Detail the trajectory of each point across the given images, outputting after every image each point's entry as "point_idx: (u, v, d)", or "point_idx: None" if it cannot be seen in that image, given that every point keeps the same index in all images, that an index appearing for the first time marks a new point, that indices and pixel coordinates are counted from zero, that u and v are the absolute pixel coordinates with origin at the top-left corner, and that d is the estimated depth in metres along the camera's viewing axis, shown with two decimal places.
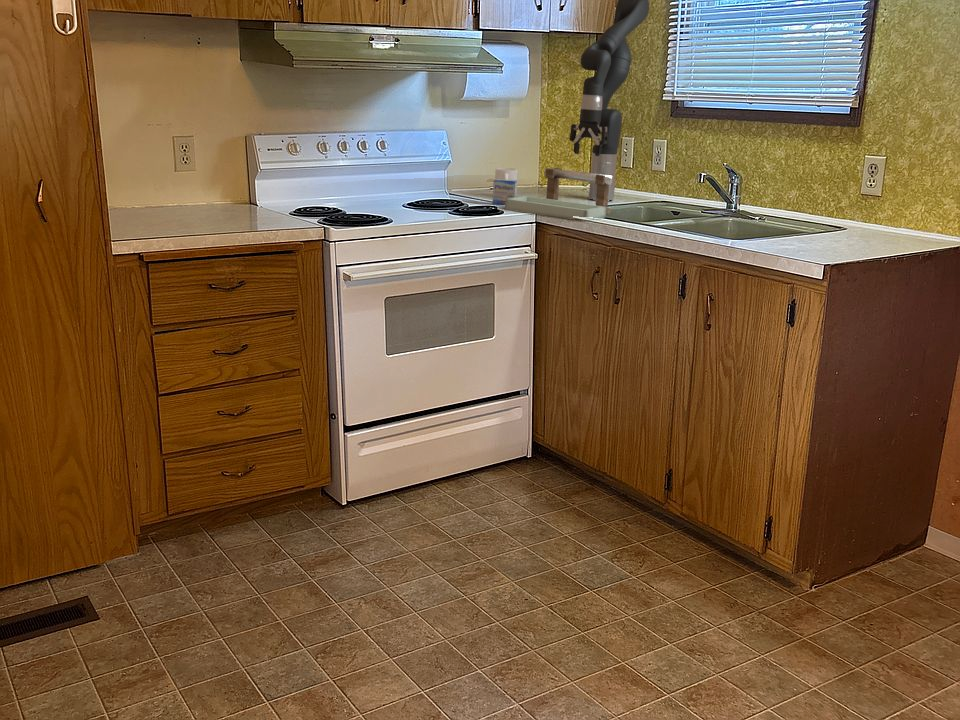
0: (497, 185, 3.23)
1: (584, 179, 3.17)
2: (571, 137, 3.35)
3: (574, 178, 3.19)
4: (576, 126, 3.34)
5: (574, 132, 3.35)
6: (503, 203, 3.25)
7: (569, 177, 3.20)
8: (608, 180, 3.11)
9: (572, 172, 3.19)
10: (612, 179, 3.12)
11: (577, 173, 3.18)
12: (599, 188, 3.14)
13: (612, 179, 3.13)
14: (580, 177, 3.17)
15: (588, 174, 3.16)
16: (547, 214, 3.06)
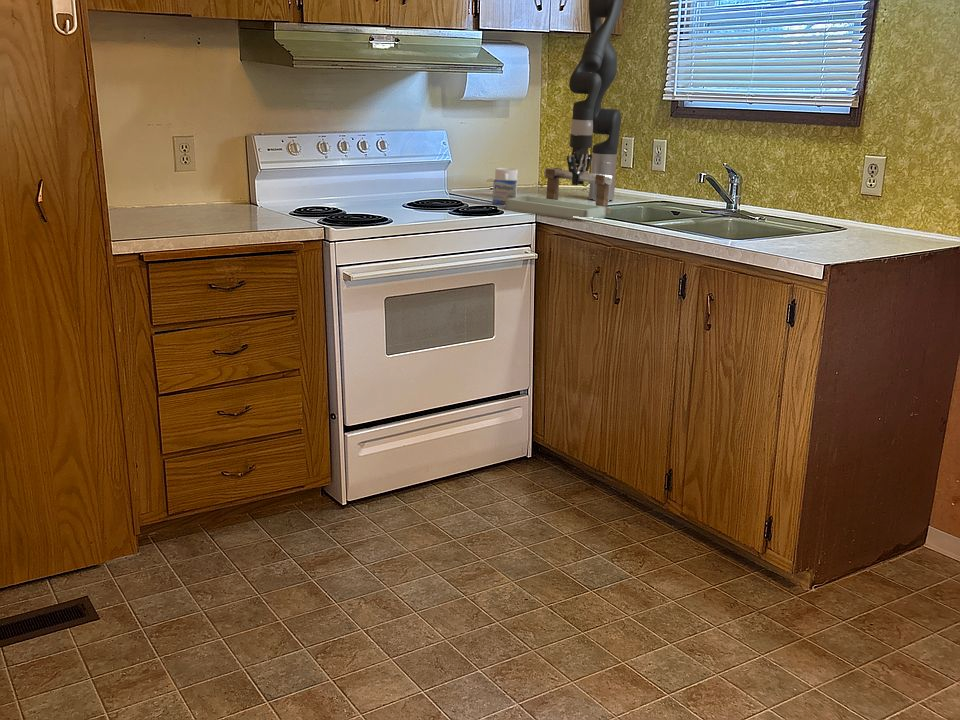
0: (497, 185, 3.23)
1: (584, 179, 3.17)
2: (576, 169, 3.15)
3: None
4: (573, 156, 3.13)
5: None
6: (503, 203, 3.25)
7: (569, 177, 3.20)
8: (608, 180, 3.11)
9: None
10: (612, 179, 3.12)
11: None
12: (599, 188, 3.14)
13: (612, 179, 3.13)
14: (580, 177, 3.17)
15: (588, 174, 3.16)
16: (547, 214, 3.06)
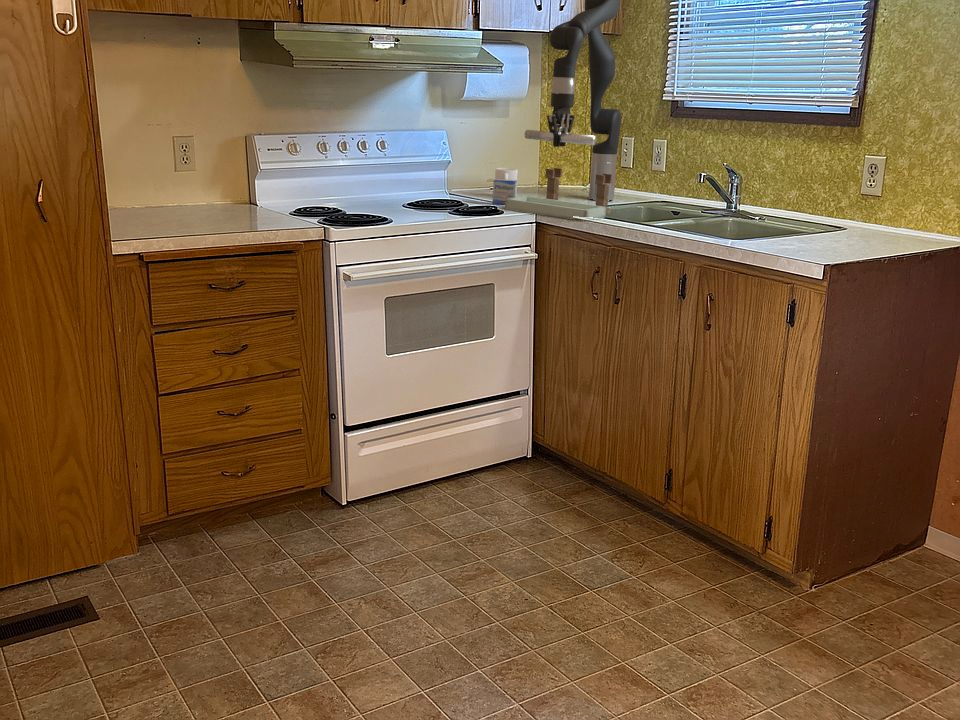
0: (497, 185, 3.23)
1: (566, 140, 3.02)
2: (557, 129, 3.00)
3: None
4: (554, 116, 2.98)
5: None
6: (503, 203, 3.25)
7: (550, 138, 3.05)
8: (591, 140, 2.96)
9: None
10: (595, 139, 2.98)
11: None
12: (599, 188, 3.14)
13: (595, 140, 2.98)
14: (562, 138, 3.02)
15: (570, 135, 3.01)
16: (547, 214, 3.06)
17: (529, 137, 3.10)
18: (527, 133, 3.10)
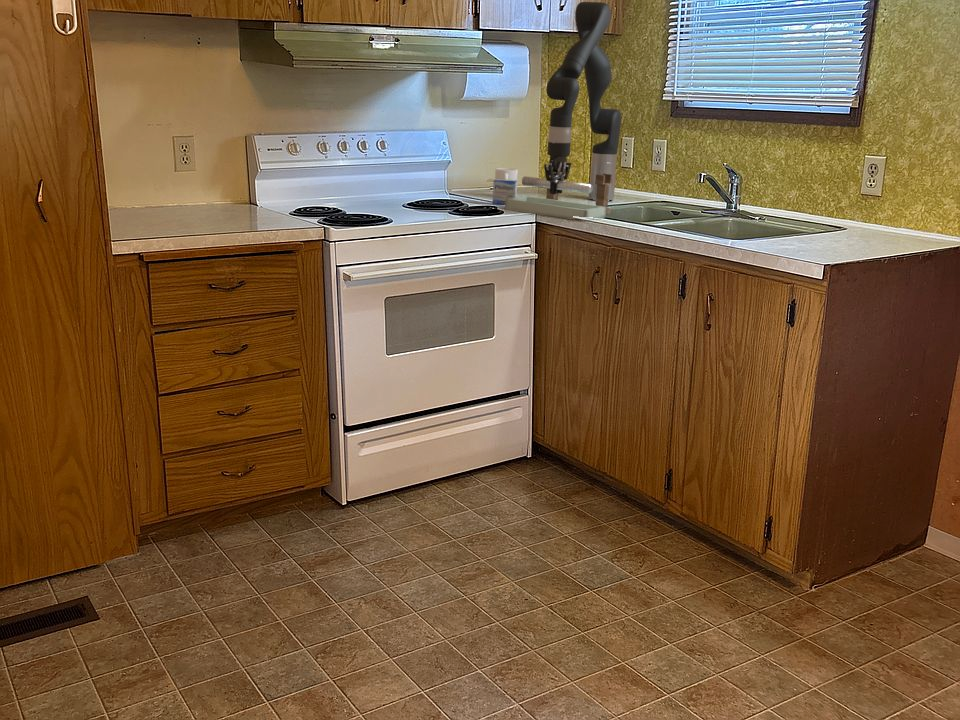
0: (497, 185, 3.23)
1: (562, 188, 3.07)
2: (553, 177, 3.05)
3: None
4: (551, 165, 3.03)
5: None
6: (503, 203, 3.25)
7: (547, 186, 3.10)
8: (587, 189, 3.01)
9: None
10: (591, 188, 3.02)
11: None
12: (599, 188, 3.14)
13: (591, 188, 3.03)
14: (558, 186, 3.07)
15: (566, 183, 3.05)
16: (547, 214, 3.06)
17: (526, 184, 3.15)
18: (524, 180, 3.14)
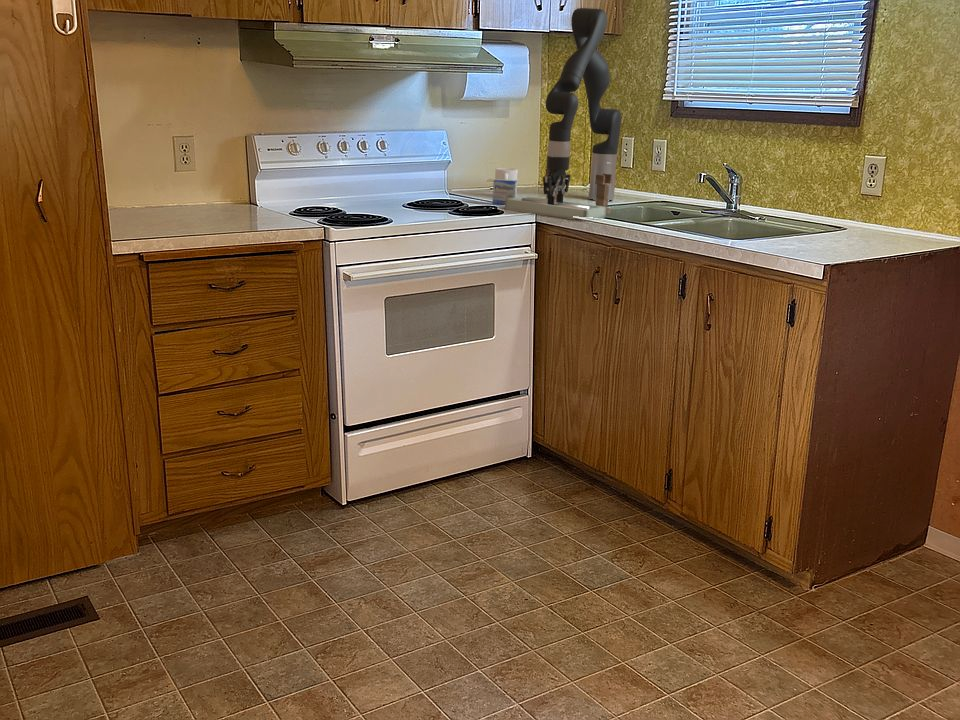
0: (497, 185, 3.23)
1: None
2: (551, 190, 3.05)
3: None
4: None
5: None
6: (503, 203, 3.25)
7: None
8: None
9: None
10: None
11: (554, 203, 3.10)
12: (599, 188, 3.14)
13: None
14: None
15: (565, 205, 3.08)
16: (547, 214, 3.06)
17: None
18: None
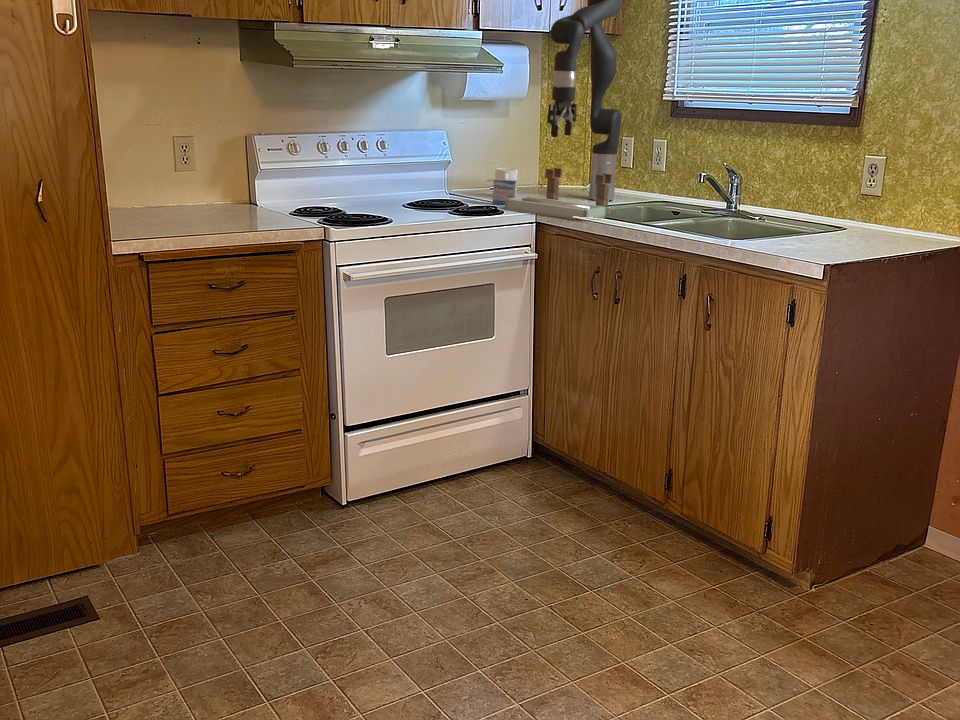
0: (497, 185, 3.23)
1: None
2: (555, 119, 3.01)
3: None
4: None
5: None
6: (503, 203, 3.25)
7: None
8: None
9: (549, 202, 3.12)
10: None
11: (554, 203, 3.10)
12: (599, 188, 3.14)
13: None
14: None
15: (565, 204, 3.08)
16: (547, 214, 3.06)
17: None
18: None
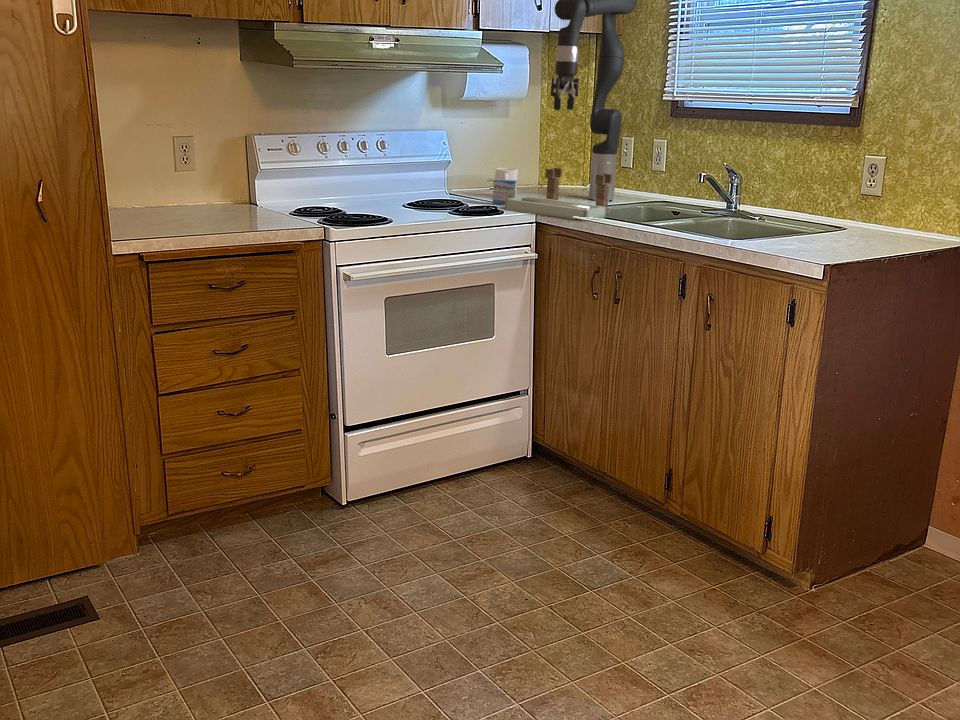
0: (497, 185, 3.23)
1: None
2: (558, 92, 3.12)
3: None
4: None
5: None
6: (503, 203, 3.25)
7: None
8: None
9: (549, 202, 3.11)
10: None
11: (554, 203, 3.10)
12: (599, 188, 3.14)
13: None
14: None
15: (565, 205, 3.08)
16: (547, 214, 3.06)
17: None
18: None
